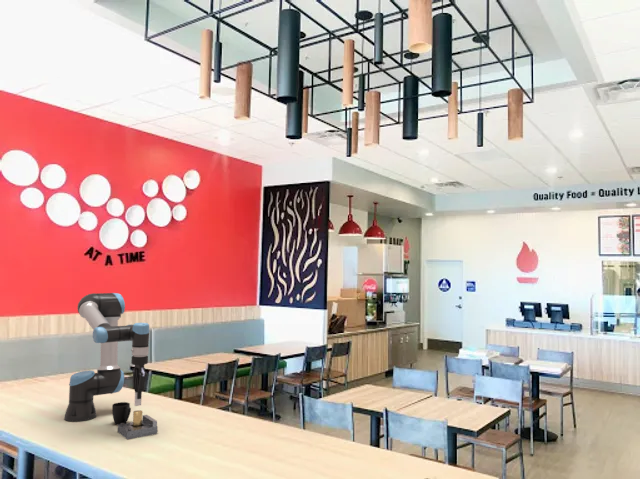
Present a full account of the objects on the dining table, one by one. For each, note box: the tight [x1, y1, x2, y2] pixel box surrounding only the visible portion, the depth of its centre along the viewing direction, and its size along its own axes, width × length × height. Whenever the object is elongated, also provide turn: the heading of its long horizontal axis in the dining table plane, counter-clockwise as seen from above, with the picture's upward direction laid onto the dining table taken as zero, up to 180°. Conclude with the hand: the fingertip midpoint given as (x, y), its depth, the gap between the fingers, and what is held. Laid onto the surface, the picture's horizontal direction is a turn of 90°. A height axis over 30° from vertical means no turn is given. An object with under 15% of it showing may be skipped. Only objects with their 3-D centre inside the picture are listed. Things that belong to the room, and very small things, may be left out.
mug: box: [111, 401, 132, 426], centre depth 260 cm, size 8×12×10 cm
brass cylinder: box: [132, 409, 143, 428], centre depth 246 cm, size 4×4×10 cm
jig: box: [117, 414, 158, 440], centre depth 246 cm, size 14×14×6 cm
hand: (137, 405), depth 247 cm, fingers closed
